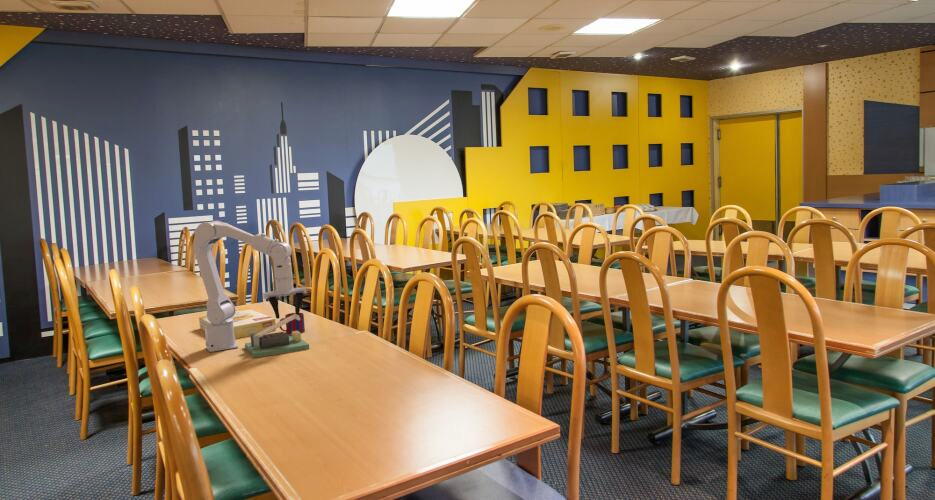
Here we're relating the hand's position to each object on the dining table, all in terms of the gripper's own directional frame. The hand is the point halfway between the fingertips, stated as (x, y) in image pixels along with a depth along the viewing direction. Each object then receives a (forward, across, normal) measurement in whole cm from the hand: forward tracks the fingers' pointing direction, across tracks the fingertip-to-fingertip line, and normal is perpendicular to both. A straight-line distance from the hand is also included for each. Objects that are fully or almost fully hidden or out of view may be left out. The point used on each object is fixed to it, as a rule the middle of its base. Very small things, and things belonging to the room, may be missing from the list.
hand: (287, 316), depth 224 cm
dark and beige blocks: (+9, -4, 0) cm, 10 cm away
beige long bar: (+4, -4, 0) cm, 5 cm away
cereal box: (+11, -10, +39) cm, 42 cm away
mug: (+11, +6, +19) cm, 22 cm away
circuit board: (+10, -5, 0) cm, 11 cm away
